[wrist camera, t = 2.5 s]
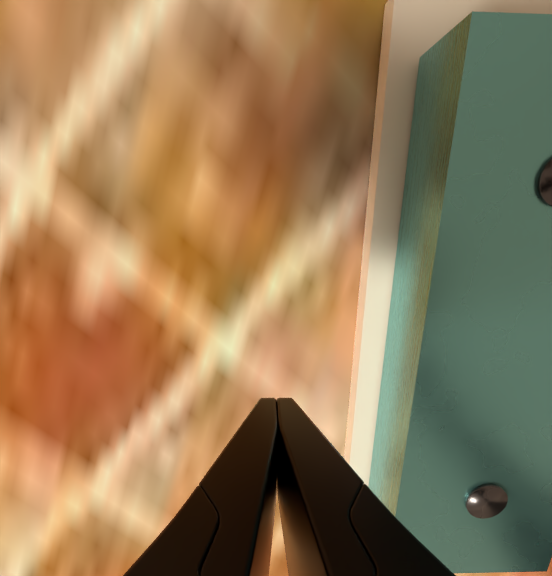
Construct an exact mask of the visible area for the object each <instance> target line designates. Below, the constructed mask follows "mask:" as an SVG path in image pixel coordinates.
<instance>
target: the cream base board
mask: <svg viewBox="0 0 552 576" xmlns="http://www.w3.org/2000/svg"><path fill="white" fill-rule="evenodd" d="M472 11H474V12H503V13H532V14H552V0H388V1H387V3H386V4H385V9H384V20H383V31H382V42H381V53H380V64H379V75H378V86H377V98H376V109H375V120H374V131H373V142H372V153H371V164H370V175H369V186H368V197H367V208H366V220H365V231H364V242H363V253H362V264H361V275H360V286H359V297H358V308H357V319H356V330H355V342H354V353H353V364H352V375H351V386H350V397H349V408H348V419H347V430H346V441H345V452H344V459H345V460H346V462H347V463H348V464H349V465H350V466H351V467H352V469H353V470H354V471H355V472H356V473H357V474H358V476H359V477H360V478H361V479H362V480H363V482H364V484H366V485H367V486H369V478H370V469H371V461H372V452H373V444H374V436H375V427H376V419H377V410H378V402H379V394H380V385H381V377H382V369H383V360H384V352H385V343H386V335H387V327H388V318H389V310H390V301H391V293H392V285H393V276H394V268H395V259H396V251H397V243H398V234H399V226H400V217H401V209H402V201H403V192H404V184H405V175H406V167H407V159H408V150H409V142H410V133H411V125H412V117H413V108H414V100H415V91H416V83H417V75H418V66H419V58H420V57H421V56H422V55H423V54H424V53H425V52H426V51H427V50H429V49H430V48H431V47H432V46H433V45H434V44H435V43H437V42H438V41H439V40H440V39H441V38H442V37H443V36H445V35H446V34H447V33H448V32H449V31H450V30H451V29H453V28H454V27H455V26H456V25H457V24H458V23H460V22H461V21H462V20H463V19H464V18H465V17H466V16H468V15H469V14H470V13H471V12H472Z"/></svg>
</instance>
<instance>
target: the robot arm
mask: <svg viewBox="0 0 552 576" xmlns="http://www.w3.org/2000/svg"><path fill="white" fill-rule="evenodd" d="M276 491H277V492H278V501H279V509H280V516H281V523H282V530H283V537H284V544H285V552H286V559H287V566H288V573H289V576H455V575H454V574H453V573H452V572H451V571H450V570H449V569H448V568H447V567H446V566H445V565H444V564H443V563H442V562H441V561H440V560H439V559H438V558H437V557H436V556H435V555H434V554H432V553H431V552H430V551H429V550H428V549H427V548H426V547H425V546H424V545H423V544H422V543H421V542H420V541H419V540H418V539H417V538H416V537H415V536H414V535H413V534H412V533H411V532H410V531H409V530H408V529H407V528H406V527H405V526H404V525H403V524H402V523H401V522H400V521H399V520H398V519H397V518H396V517H395V516H394V515H393V514H392V513H391V512H390V511H389V510H388V509H387V507H386V506H385V505H384V504H383V503H382V502H381V501H380V500H379V499H378V497H377V496H376V495H375V494H374V493H373V492H372V491H371V489H370V488H369V487H368V486H367V485H366V484H364V482H363V480H362V479H361V478H360V477H359V476H358V474H357V473H356V472H355V471H354V470H353V469H352V467H351V466H350V465H349V464H348V463H347V462H346V460H345V459H344V458H343V457H342V456H341V455H340V453H339V452H338V451H337V450H336V449H335V448H334V446H333V445H332V444H331V443H330V442H329V441H328V439H327V438H326V437H325V436H324V435H323V434H322V432H321V431H320V430H319V429H318V428H317V427H316V425H315V424H314V423H313V422H312V421H311V420H310V418H309V417H308V416H307V415H306V414H305V413H304V411H303V410H302V409H301V408H300V407H299V406H298V404H297V403H296V402H295V401H294V400H293V399H292V398H278V399H277V400H276V399H275V398H261V399H260V400H259V401H258V402H257V404H256V405H255V407H254V408H253V409H252V411H251V412H250V414H249V415H248V416H247V418H246V419H245V421H244V422H243V423H242V425H241V426H240V428H239V429H238V430H237V432H236V433H235V434H234V436H233V437H232V439H231V440H230V441H229V443H228V444H227V446H226V447H225V448H224V450H223V451H222V453H221V454H220V455H219V457H218V458H217V460H216V461H215V462H214V464H213V465H212V467H211V468H210V469H209V471H208V472H207V474H206V475H205V476H204V478H203V479H202V481H201V482H200V483H199V486H197V487H196V489H195V490H194V491H193V493H192V494H191V496H190V497H189V498H188V500H187V501H186V502H185V504H184V505H183V506H182V508H181V509H180V510H179V512H178V513H177V514H176V516H175V517H174V518H173V519H172V521H171V522H170V523H169V524H168V525H167V526H166V528H165V529H164V530H163V531H162V532H161V533H160V535H159V536H158V537H157V538H156V539H155V540H154V542H153V543H152V544H151V545H150V546H149V547H148V548H147V549H146V551H145V552H144V553H143V554H142V555H141V556H140V557H139V558H138V559H137V561H136V562H135V563H134V564H133V565H132V566H131V567H130V568H129V569H128V571H127V572H126V573H125V574H124V575H123V576H269V566H270V556H271V545H272V535H273V525H274V515H275V505H276Z"/></svg>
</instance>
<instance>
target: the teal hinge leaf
mask: <svg viewBox="0 0 552 576" xmlns="http://www.w3.org/2000/svg"><path fill="white" fill-rule="evenodd" d="M368 487H369V488H370V489H371V491H372V492H373V493H374V494H375V495H376V496H377V497H378V499H379V500H380V501H381V502H382V503H383V504H384V505H385V506H386V507H387V509H388V510H389V511H390V512H391V513H392V514H393V515H394V516H395V517H396V518H397V519H398V520H399V521H400V522H401V523H402V524H403V525H404V526H405V527H406V528H407V529H408V530H409V531H410V532H411V533H412V534H413V535H414V536H415V537H416V538H417V539H418V540H419V541H420V542H421V543H422V544H423V545H424V546H425V547H426V548H427V549H428V550H429V551H430V552H431V553H432V554H434V555H435V556H436V557H437V558H438V559H439V560H440V561H441V562H442V563H443V564H444V565H445V566H446V567H447V568H448V569H449V570H450V571H451V572H452V573H488V572H535V571H547V569H548V566H549V563H550V560H551V557H552V14H532V13H503V12H474V11H472V12H471V13H470V14H469V15H468V16H466V17H465V18H464V19H463V20H462V21H461V22H460V23H458V24H457V25H456V26H455V27H454V28H453V29H451V30H450V31H449V32H448V33H447V34H446V35H445V36H443V37H442V38H441V39H440V40H439V41H438V42H437V43H435V44H434V45H433V46H432V47H431V48H430V49H429V50H427V51H426V52H425V53H424V54H423V55H422V56H421V57H420V58H419V66H418V75H417V83H416V91H415V100H414V108H413V117H412V125H411V133H410V142H409V150H408V159H407V167H406V175H405V184H404V192H403V201H402V209H401V217H400V226H399V234H398V243H397V251H396V259H395V268H394V276H393V285H392V293H391V301H390V310H389V318H388V327H387V335H386V343H385V352H384V360H383V369H382V377H381V385H380V394H379V402H378V410H377V419H376V427H375V436H374V444H373V452H372V461H371V469H370V478H369V486H368Z"/></svg>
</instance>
